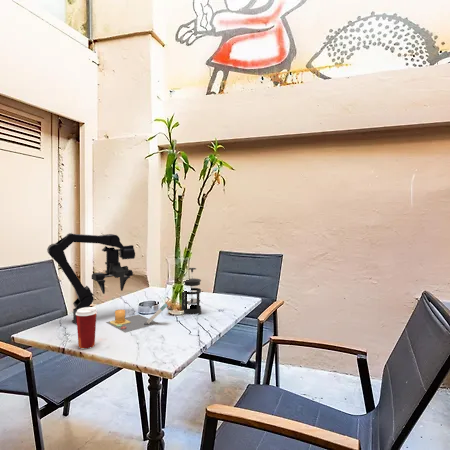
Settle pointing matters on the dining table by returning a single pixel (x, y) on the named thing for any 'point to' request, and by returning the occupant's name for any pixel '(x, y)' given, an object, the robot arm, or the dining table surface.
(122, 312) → the cap
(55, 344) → the dining table surface
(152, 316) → the lever
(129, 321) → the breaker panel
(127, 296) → the dining table surface
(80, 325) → the paper cup
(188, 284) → the french press
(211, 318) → the dining table surface
